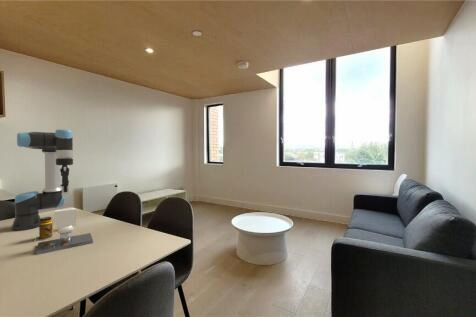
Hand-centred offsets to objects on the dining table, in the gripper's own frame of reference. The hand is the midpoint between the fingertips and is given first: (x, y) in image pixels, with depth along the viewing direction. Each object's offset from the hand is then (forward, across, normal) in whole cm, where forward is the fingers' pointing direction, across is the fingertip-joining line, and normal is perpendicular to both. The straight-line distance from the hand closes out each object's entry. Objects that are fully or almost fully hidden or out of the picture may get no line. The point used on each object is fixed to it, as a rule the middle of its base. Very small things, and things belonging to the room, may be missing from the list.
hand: (65, 196), depth 125 cm
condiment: (+27, -19, -10) cm, 35 cm away
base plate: (+27, 0, 0) cm, 27 cm away
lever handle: (+20, 0, 0) cm, 20 cm away
